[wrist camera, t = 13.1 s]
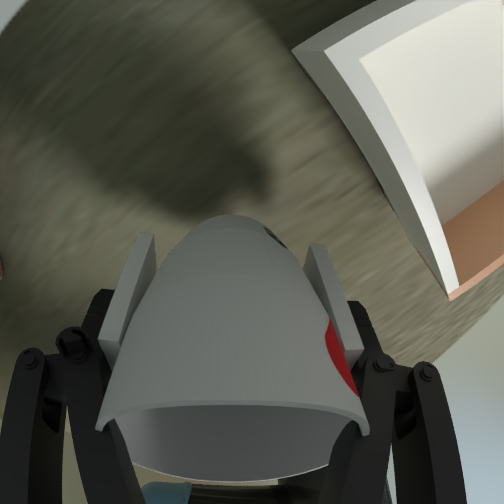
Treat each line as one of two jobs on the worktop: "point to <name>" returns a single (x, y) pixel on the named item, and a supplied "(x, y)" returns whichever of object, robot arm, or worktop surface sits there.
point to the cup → (231, 363)
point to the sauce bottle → (1, 270)
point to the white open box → (426, 121)
